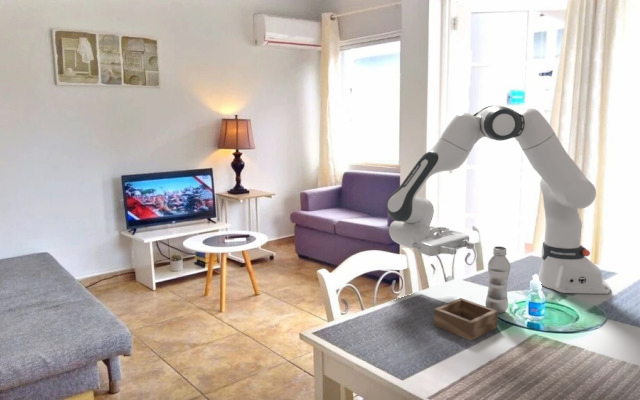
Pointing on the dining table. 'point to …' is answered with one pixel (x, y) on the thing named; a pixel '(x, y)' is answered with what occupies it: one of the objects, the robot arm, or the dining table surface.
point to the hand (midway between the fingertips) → (464, 249)
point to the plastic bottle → (498, 280)
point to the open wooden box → (452, 322)
